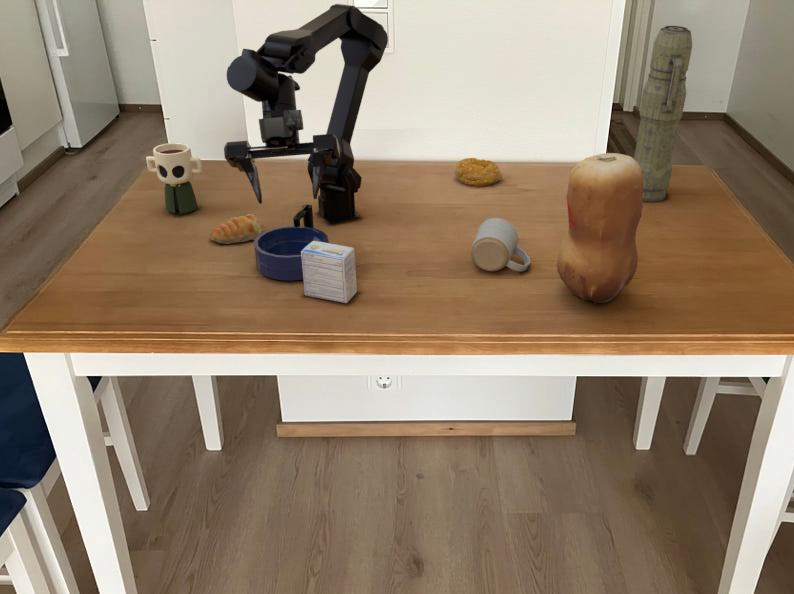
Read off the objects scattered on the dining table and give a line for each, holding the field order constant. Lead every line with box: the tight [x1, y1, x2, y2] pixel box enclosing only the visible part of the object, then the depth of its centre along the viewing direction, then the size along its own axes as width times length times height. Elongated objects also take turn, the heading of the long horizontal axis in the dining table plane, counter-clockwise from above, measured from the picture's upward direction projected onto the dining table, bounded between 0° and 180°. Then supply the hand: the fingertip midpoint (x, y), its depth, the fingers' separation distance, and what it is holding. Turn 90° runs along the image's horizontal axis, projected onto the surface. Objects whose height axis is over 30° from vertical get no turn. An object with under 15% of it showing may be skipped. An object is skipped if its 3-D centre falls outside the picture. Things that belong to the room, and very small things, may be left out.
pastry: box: [210, 213, 263, 245], centre depth 149 cm, size 9×7×4 cm
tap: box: [292, 203, 315, 228], centre depth 143 cm, size 7×4×9 cm, turn 166°
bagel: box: [453, 157, 503, 187], centre depth 178 cm, size 10×11×5 cm
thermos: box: [633, 25, 693, 203], centre depth 165 cm, size 9×12×35 cm
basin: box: [253, 225, 330, 282], centre depth 140 cm, size 13×13×5 cm
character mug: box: [145, 142, 204, 214], centre depth 157 cm, size 11×7×13 cm, turn 90°
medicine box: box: [301, 241, 358, 304], centre depth 130 cm, size 8×4×9 cm, turn 71°
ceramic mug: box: [470, 217, 531, 272], centre depth 141 cm, size 11×8×8 cm
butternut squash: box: [556, 152, 644, 304], centre depth 127 cm, size 14×13×25 cm
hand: (287, 200), depth 131 cm, fingers open, 9 cm apart
